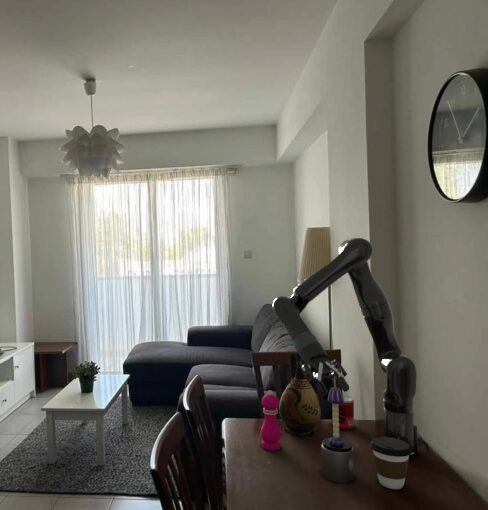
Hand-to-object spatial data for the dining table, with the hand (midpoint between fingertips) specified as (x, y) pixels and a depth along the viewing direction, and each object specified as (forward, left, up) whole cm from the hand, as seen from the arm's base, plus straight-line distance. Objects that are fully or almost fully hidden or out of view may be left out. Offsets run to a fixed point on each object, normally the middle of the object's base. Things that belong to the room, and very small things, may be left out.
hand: (336, 392), depth 142 cm
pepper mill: (+17, -20, -26) cm, 37 cm away
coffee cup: (-14, +4, -26) cm, 30 cm away
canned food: (-14, -42, -26) cm, 51 cm away
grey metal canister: (0, 0, -26) cm, 26 cm away
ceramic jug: (+4, -37, -26) cm, 46 cm away
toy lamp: (0, 0, -16) cm, 16 cm away
